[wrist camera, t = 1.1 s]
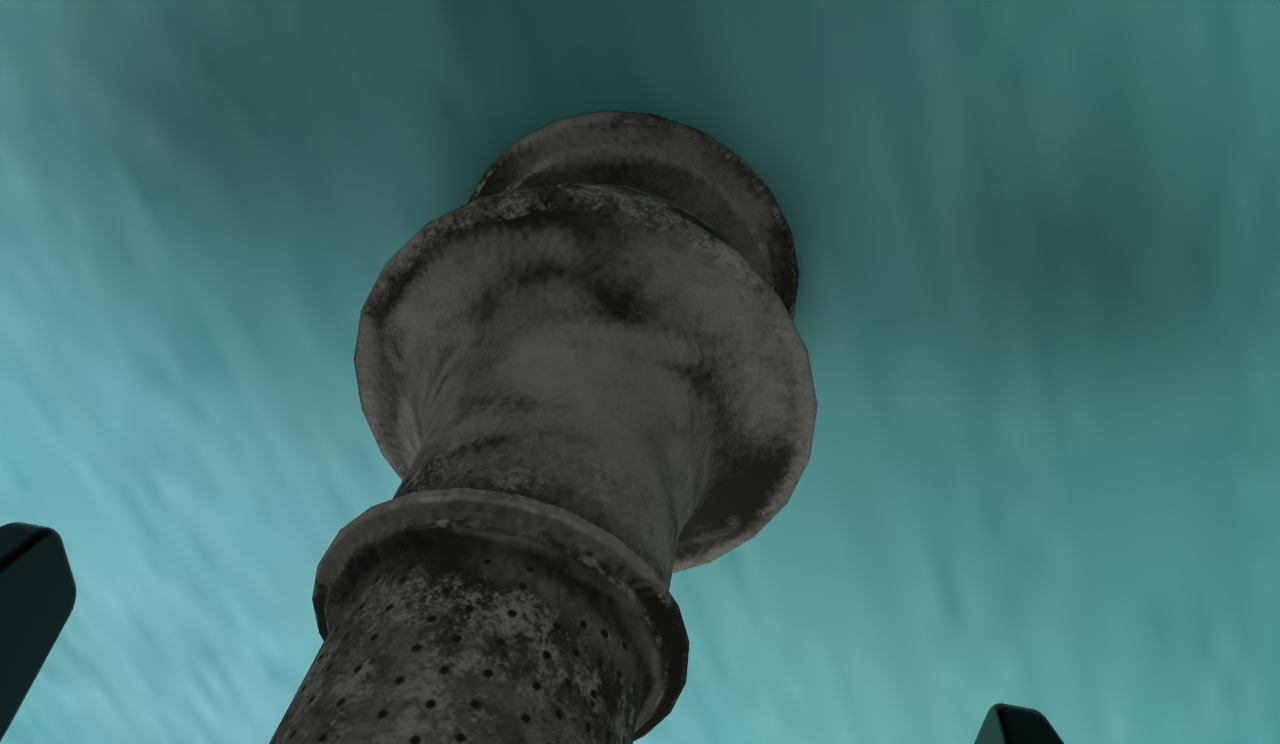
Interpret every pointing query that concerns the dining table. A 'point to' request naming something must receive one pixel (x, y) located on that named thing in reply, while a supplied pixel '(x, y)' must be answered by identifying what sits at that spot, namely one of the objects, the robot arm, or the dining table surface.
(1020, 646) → the dining table surface
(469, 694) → the salt shaker
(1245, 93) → the dining table surface
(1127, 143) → the dining table surface
